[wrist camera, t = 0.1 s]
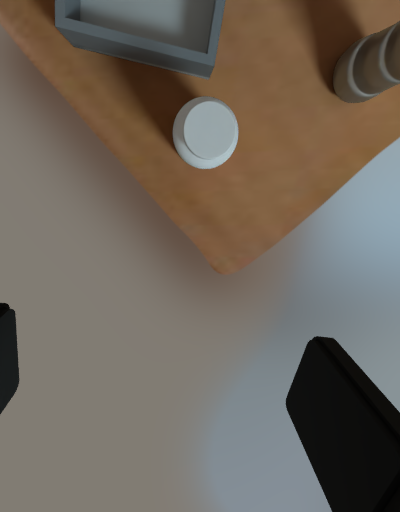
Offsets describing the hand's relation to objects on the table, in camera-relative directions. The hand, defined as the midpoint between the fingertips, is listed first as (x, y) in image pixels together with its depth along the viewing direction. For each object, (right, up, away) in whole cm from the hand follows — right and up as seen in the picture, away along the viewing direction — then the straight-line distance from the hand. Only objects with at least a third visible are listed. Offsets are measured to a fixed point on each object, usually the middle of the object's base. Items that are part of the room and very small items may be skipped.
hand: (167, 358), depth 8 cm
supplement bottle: (+1, +19, +27) cm, 33 cm away
